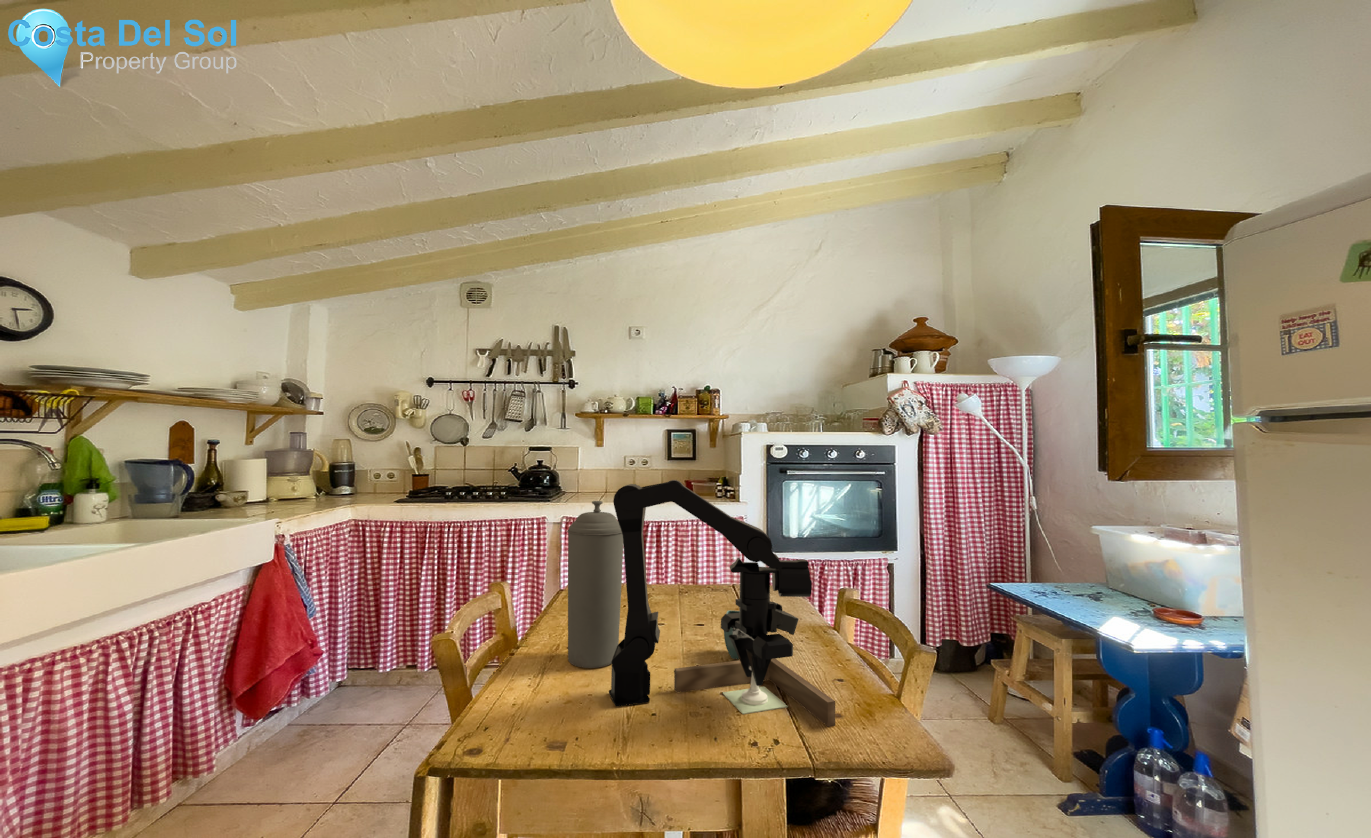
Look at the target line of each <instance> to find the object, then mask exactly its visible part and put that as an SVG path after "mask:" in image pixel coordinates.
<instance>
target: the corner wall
mask: <svg viewBox="0 0 1371 838" xmlns="http://www.w3.org/2000/svg"><path fill="white" fill-rule="evenodd" d="M673 671H674V678H673V679H674V680H673V683H674V684H673V686H674V687H673V690H674V691H675V692H676V693H677V694H678V693H684V692H685V693H686V692H691V691H699V690H705V689H706V690H707V689H713V688H720V687H728V686H735V685H742V684H751V677H747V676H746V674H745V672H744V670H743V667H742V665H741V662H740V660H739V659H738V660H733V661H732V660H731V661H724V662H723V661H722V662H716V663H707V664H701V665H699V664H698V665H691V666H684V667H683V666H682V667H674V670H673ZM764 681H771V682H772V683H773V684H774V685H775V686H776V687H777V688H779V689H780V690H782V692H784V693H785V694H787V696H789V697H790V698H791V699H793V700H794V701H795V702H796V703H797V704H799V705H800V706H801V707H802V708H804V709H805V710H806V711H807V712H809V714H812V716H813V717H815V718H816V719H817V720H818V721H820V722H821V723H822V724H824V725H825V726H827V728H828V727H834V726H836V700H834V699H833V698H832V697H830V696H829V695H827V694H826V693H825V692H823V691H822V690H820V688H817V686H815V685H813V684H812V683H810V681H808V680H806V679H805V678H804V677H803V676H800V675H799V674H797V672H795V671H794V670H792V669H791V668H789V666H787V665H786V664H784V663H783V662H781V661H780V660H779V659H778V658H775V659H771V661H770V664H769V666H768V669H767V672H766V675H765V678H764ZM764 681H763V682H764Z"/></svg>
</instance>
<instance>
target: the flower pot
mask: <svg viewBox="0 0 1371 838" xmlns="http://www.w3.org/2000/svg"><path fill="white" fill-rule="evenodd" d="M730 613H739V610H727V611H726V612H725V614H730ZM729 635H733V628H731V627H730V630H729V632H725V631H724V630H723V637H724V644H725V647H726V650H727V653H728V654H729V656H730V658H731V659H732V660H739V658H738V655H737V653H736V651H735V648H734V646H733V644H732V642H731V640H730V638H729Z"/></svg>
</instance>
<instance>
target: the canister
mask: <svg viewBox="0 0 1371 838" xmlns="http://www.w3.org/2000/svg"><path fill="white" fill-rule="evenodd" d="M591 504H592V505H594V508H593V510H592V511H588V512H587V511H586V512H583V513H580V514H579V515H578V516H577V517H576V518H575V521H572V523H571V525H570V526H568V530H567V533H568V534H567V535H568V536H567V539H568V541H567V543H568V544H567V660H568V662H569V664H571V665H572V666H575V667H578V668H584V669H595V668H602V667H607V666H609V665H612V663H611V661H612V659H613V656H614V653H615V651H616V648H617V645H618V644H619V643H620V642H619V641H620V640H619V639H620V625H621V624H620V621H621V602H622V601H621V600H622V599H621V598H622V582H623V581H622V577H623V559H624V558H623V557H624V546H623V535H622V531H621V528H620V525H619V523H618V520H617V516H616V515H614V514H613V513H611V512H605V511H601V510H602V509H600V506H601V505H602V504H603V501H602V500H593V501H591Z"/></svg>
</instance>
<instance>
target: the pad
mask: <svg viewBox="0 0 1371 838" xmlns="http://www.w3.org/2000/svg"><path fill="white" fill-rule="evenodd" d="M748 689H749V688H744V689H736V690H731V691H723V692H722V695H723V696H724V697H725V698H726V699H727V700H728V701H729V702H730V703H731V704H732V705H733V706H734V707H735V708H736V709H737V710H738V711H739V712H740V713H741V714H742V715H747V714H754V713H759V712H760V713H761V712H766V711H772V710H780V709H785V708H788V707H789V705H786V703H785V702H783V701H782V700H781V699H780V698H779V697H778V696H777V695H776V694H774V693H773V692H772V691H770V690H769V689H768V688H767V687H766V686H759V689H760V690H761V691H762V692H764V693H766V695H767V699H768V701H767V703H765V704H762V705H751V704H747V703H745V702H743V701H742V699H741V697H742V693H743V692H744V691H747V690H748Z"/></svg>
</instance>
